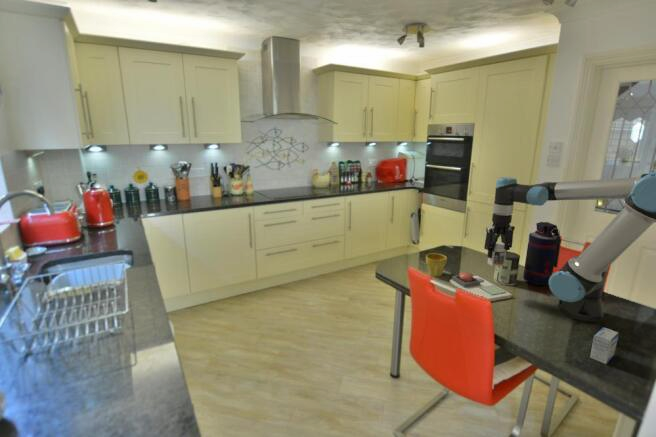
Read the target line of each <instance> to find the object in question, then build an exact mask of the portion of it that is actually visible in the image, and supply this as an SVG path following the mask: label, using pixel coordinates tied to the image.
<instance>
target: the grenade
mask: <svg viewBox="0 0 656 437" xmlns="http://www.w3.org/2000/svg"><path fill="white" fill-rule="evenodd" d="M535 225H536V230H535V231H534V232H530V233H529V234H528V235H529V236H528V242H527V247H526V255H525V263H524V269H523V270H524V271H523V274H522V275H523V276H522V278H523V280H525V281H526V282H528V283H530V285H531V286H534V287H537V286H549V279H550V277H551V276H552V274H553V273H554V268H558V265H559V264H558V263H559V256H560V250H561V249H560V248H561V242H562V239H561V236H560V235H561V230H560V229H559V228H558V226H557V225H556V224H554V223H551V222H548V221H540V222H536V224H535Z"/></svg>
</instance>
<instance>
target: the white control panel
mask: <svg viewBox="0 0 656 437" xmlns="http://www.w3.org/2000/svg"><path fill="white" fill-rule="evenodd" d="M459 276H460V274H457V275H456V274H455V275H452V276H451V279H449V283H450V284H451V285H453V286H455V287H456V288H458V289H459V288H461V289H463V290H465V291H468V292H471V293H473V294H476V295H479V296H483V297H485V298H487V299H489V300H490V302H495V301H500V300H506V299H511V298H512V297H513V296H512V295H513V294H511V292H510V293H509V292H508V291H507V290H505V289H503V288H500V287H498V286H497V285H495V284H493V283H492V282H490V281H488V280H486V279H484V278H482V277H480V276H479V275H473V281H471V282H463V281H462V280H460V279H459ZM461 289H460V290H461ZM463 290H462V291H463Z"/></svg>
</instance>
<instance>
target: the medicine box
mask: <svg viewBox="0 0 656 437" xmlns="http://www.w3.org/2000/svg"><path fill="white" fill-rule="evenodd" d="M619 334H620V333H619V332H618V331H616V330H615V331H614V330H612V329H610V328H606V327H602V328H601V329H600V330H599V331H597V333H595V334H594V336H593V340H592V345H591V351H590V359H593V360H594V361H597V362H600V363H602V364H603V365H607V364H608V363H609V362H610V360H612V358H613V357H614V356H615V353H616V348H617V344H618V341H619V336H620V335H619Z"/></svg>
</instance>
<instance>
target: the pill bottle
mask: <svg viewBox="0 0 656 437" xmlns="http://www.w3.org/2000/svg"><path fill="white" fill-rule="evenodd" d="M504 246H505V244H504V243H502V241H497V243H496V245H495V248H494V251H495V256H494V264H493V266H494V267H495V266H502V265H503V262H504V255H505V249H504Z"/></svg>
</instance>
